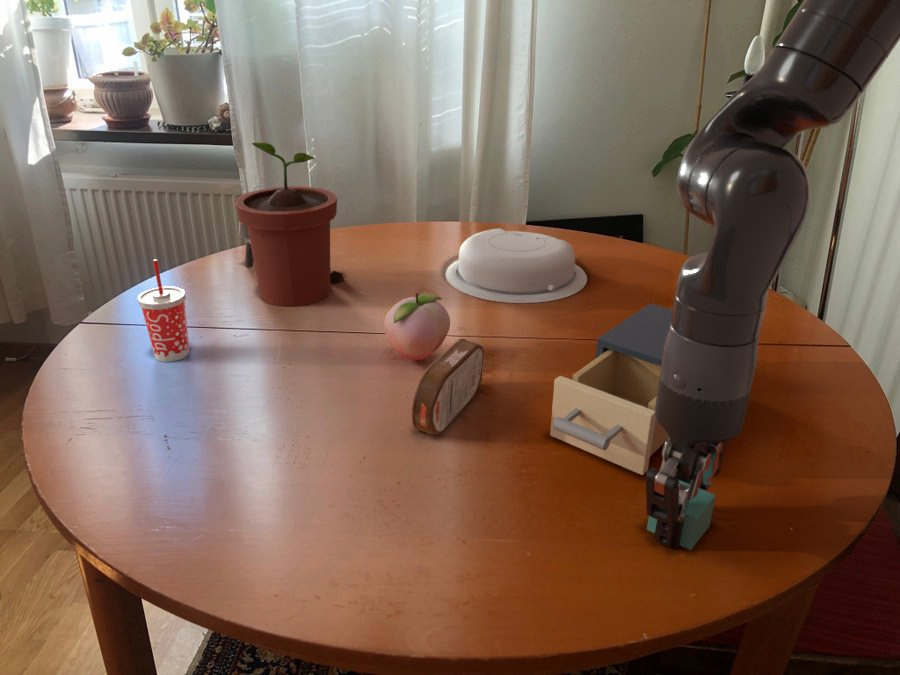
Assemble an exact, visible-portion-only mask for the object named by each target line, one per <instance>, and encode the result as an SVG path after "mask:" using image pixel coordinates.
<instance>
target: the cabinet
mask: <svg viewBox="0 0 900 675" xmlns="http://www.w3.org/2000/svg"><path fill="white" fill-rule="evenodd" d="M672 312H673V308H668V307H665V306H661V305H657V304H653V303H649V304H647V305H645V306H644V307H642V308H641V309H640V310H638V311H637V312H635V313H633V314H632V315H630V316H629V317H628V318H626V319H624V320H623V321H622V322H620V323H619V324H617V325H615V326H614V327H612V328H611V329H610V330H608V331H607V332H605V333H604V334H602V335H600V336H599V337H598V338H597V340H596V349H595V350H596V351H595V359H596V358H598V357H599V356H600V355H602V354H603V353H605V352H606V351H608V350H609V349H611V350H614V351H617V352H620V353H623V354H625V355H628V356H631V357H634V358H637V359H640V360H643V361H646V362H649V363H652V364H655V365H658V366H661V364H662V357H663V351H664V345H665V341H666V338H667V335H668V332H669V328H670V324H671V318H672Z"/></svg>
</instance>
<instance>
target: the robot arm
mask: <svg viewBox="0 0 900 675" xmlns="http://www.w3.org/2000/svg"><path fill="white" fill-rule="evenodd" d="M899 42H900V0H803V1H802V3H801V4H800V6H799V8H798V9H797V11H796V12H795V14H794V15H793V17H792V19H791V20H790V22H789V23H788V25H787V26H786V28H785V29H784V30H783V31H782V34H781V35H780V37H779V39H778V40H777V42H776V43H775V45H774V46H773V48H772V49H771V51H770V53H769V54H768V56H767V58H766V59H765V61H764V63H763V64H762V66H760V68H759V70H757V71H756V73H754V74H753V76H752V77H751V78H750V79H749V80H747V81H746V82H745V83H744V84H743V85H742V86H740V88H739V89H738V90H737V91H736V92H735V93H733V95H732V96H731V97H730V98H729V99H728V100H727V101H726V102H725V103H724V104H723V105H722V106H721V107H720V109H719V110H718V111H717V112H716V113H715V114H714V115H713V116H712V117H710V119H709V120H708V121H707V122H706V124H705V125H704V126H703V127H701V129H700V130H699V131H698V133H696V135H695V137H693V139H692V141H691V142H690V144H689V145H688V147H687V148H686V151H685V152H684V155H683V156H682V159H681V161H680V164H679V167H678V172H677V175H676V176H677V177H676V191H677V196H678V198H679V200H680V203H681V205H682V206H683V207H684V208H685V209H686V210H687V211H688V212H689V213H690V214H692V215H694V217H696V218H698V219H700V220H702V221H703V222H705V223H707V224H708V225H709V226H712V227H713V228H714V231H713V239H712V240H711V241H712V242H711V245H710V247H709V249H708V251H707V252H701V253H697V254H694V255H693V256H691V257H689V258H688V259H686V260H685V262H683V264H682V266H681V268H680V271H679V272H678V276H677V280H676V286H675V293H674V299H673V306H672V310H673V312H672V318H671V324H670V328H669V332H668V335H667V338H666V341H665V345H664V351H663V357H662V364H661V371H660V377H659V384H658V391H657V397H656V404H655V417H656V419H657V421H658V422H659V424H660V425H661V426H662V427H663V428H664V429H665V431H666V432H667V433H668V435H669V437H670V438H667V440H666V441H665V442H664V443H663V447H662V451H661V456H662V461H661V465H660V468H659V470H658V469H656V468H654V467H650V468H648V471H647V472H646V477H645V488H646V489H645V490H646V491H645V493H646V494H645V495H646V515H647V517H649V516H650V517H653V518H655V519H657V524H656V530H655V533H654V537H653V539H654V540H655V542H656V543H657V544H660V545H662V546H663V547H666V548H668V549H671V548H673V549H678V547H679V546H680V545H679V544H680V538H681V533H682V527H683V522H684V518H685V516H686V511H687V507H688V504H689V500H691V499H693V498H694V497H696V496H697V494H698V490H699V488H700V489H702V490H705V491H709V490H710V489H711V488H712V486H713V477H717V476H718V475H719V474H720V473H721V470H722V469H721V468H722V465H723V462H724V458H725V455H726V451H727V447H728V444H729V441H732V440H734V439H736V438H737V437H738V436H739V435H740V434H741V433H742V431H743V430H744V425H745V421H746V417H747V412H748V407H749V404H750V403H749V402H750V397H751V393H752V388H753V383H754V378H755V374H756V368H757V365H758V358H759V357H758V355H759V354H758V353H759V339H760V335H761V329H762V325H763V320H764V315H765V311H766V306H767V300H768V295H769V294H768V293H769V291H770V289H771V286H772V285H773V283H774V281H775V280H776V278H777V277H778V275H779V273H780V271H781V269H782V268H783V265H784V264H785V262H786V259H787V257H788V256H789V253H790V252H791V249H792V248H793V245H794V244H795V242H796V240H797V239H798V236H799V234H800V233H801V231H802V228H803V226H804V223H805V221H806V219H807V216H808V213H809V207H810V202H811V184H810V178H809V174H808V170H807V168H806V166H805V164H804V163H803V162H802V160H801V159H800V158H799V157H798V156H797V155H796V154H794V153H793V152H791V151H790V150H788V149H785V148H786V147H787V146H788V145H789V144H790V143H791V142H792V141H793V140H794V139H795V138H796V137H797V136H798V135H800V134H801V133H804V132H806V131H808V130H816V129H817V130H818V129H823V128H829V127H832V126H835V125H836V124H838V123H840V122H841V121H842V120H843V119H844V118H845V117H846V116H847V115H848V114H849V113H850V112H851V110H852V109H853V108H854V106H855V105H856V103H857V102H858V101H859V99H860V98H861V96H862V95H863V93H864V92H865V91H866V89H868V86H869V85H870V84H871V82H872V80H873V79H874V78H875V77H876V75H877V74H878V72H879V70H880V69H881V68H882V67H883V65H884V63H885V62H886V61H887V59H888V57H889V56H890V54H892V52H893V50H894V49H895V47H896V46H897V45H898V43H899ZM679 480H680V481H683V482H685V483H688V484H690V487H687V486H685V485H682V484H680V483H679ZM679 497H680V502H679Z"/></svg>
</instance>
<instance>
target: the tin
mask: <svg viewBox="0 0 900 675" xmlns="http://www.w3.org/2000/svg"><path fill="white" fill-rule="evenodd" d="M485 353H486V352H485V348H484V347H483V346H482V345H481V344H479V343H477V342H473V341H470V340H467V339H466V338H459V339H458V340H457V341H455V342H454V343H453V344H452V345H451V346H450V347H449V348H448V349H446V350H445V351H444V352H443V353H442V354H441V355H440V356H438V358H436V359H435V360H434V361H433V362H432V363H430V365H429V366H428V367H427V368H426V369H425V371H424V373H423V374H422V376H421V378H420V380H419V382H418V384H417V387H416V389H415V392H414V396H413V400H412V406H411V423H412V427H413V429H415V430H416V431H417V432H418V431H419V432H424V433H426V434H430V435H432V436H433V435H434V436H439V435H440V434H442V432H443V431H444V429H445V428H447V426H448V425H449V424H450V423H451V422H452V421H453V420H454V419H455V417H456V416H457V415H458V414H459V413H460V412H461V411H462V410H463V409H464V407H465V406H466V405H467V404H468V402H469V401H470V400H471V399H472V398H473V397H474V396H475V395H476V394H477V393H478V391H479V388H480V385H481V382H482V380H483V368H484V360H485V357H484V356H485Z"/></svg>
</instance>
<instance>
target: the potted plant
mask: <svg viewBox="0 0 900 675" xmlns="http://www.w3.org/2000/svg"><path fill="white" fill-rule="evenodd" d="M251 144H252V146H254V147H256V148H258V149H259V150H261V151H263V152H265V153H267V154H268V155H270V156H272V157H275V158H277V159H278V160H280V161H281V162H282V164H283V186H274V187H267V188H261V189H257V190H253V191H249V192H246V193H244V194H242V195H240V196H238V197H237V199H235V201H234V204H235V208H236V212H237V216H238V221H239V222H238V235H239V237H240V239H242V240H249V241H247V242H246V244H245V256H244V257H245V258H244V266H245V268H248V269H252V268H253V267H254V270H255V274H256V280H257V286H258V291H259V296H260V299H261V300H262V301H263V302H265V303H267V304H269V305H273V306H279V307H300V306H307V305H311V304H315V303H317V302H320V301H322V300H324V299H325V298H326V297H328V296H329V295H330V293H331V284H339V283H340V284H341V283H343V282H345V277H344V275H343V273H342V272H340V271H336V270H332V272H331V221H332V220H334V219H335V218H336V216H337V214H338V213H337V211H338V196H337V195H336V193H334V192H333V191H331V190H328V189H324V188H320V187H315V186H305V185H304V186H301V185H300V186H299V185H298V186H297V185H296V186H295V185H294V186H293V185H290V186H289V185H288V172H287V170H288V169H287V168H288V167H289V166H290V165H292V164H299V163H305V162H308V161H311V160H314V159H316V157H314V156H312V155H310V154H308V153H305V152H297V153H295V154H294V155H293V161H292V160H291V161H288V162H286V160H285V158H284V157H283V156H281V155H279V154H277V153H276V148H275V147H274V145H273V144H271V143H270V142H269V143H268V142H251Z"/></svg>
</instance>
